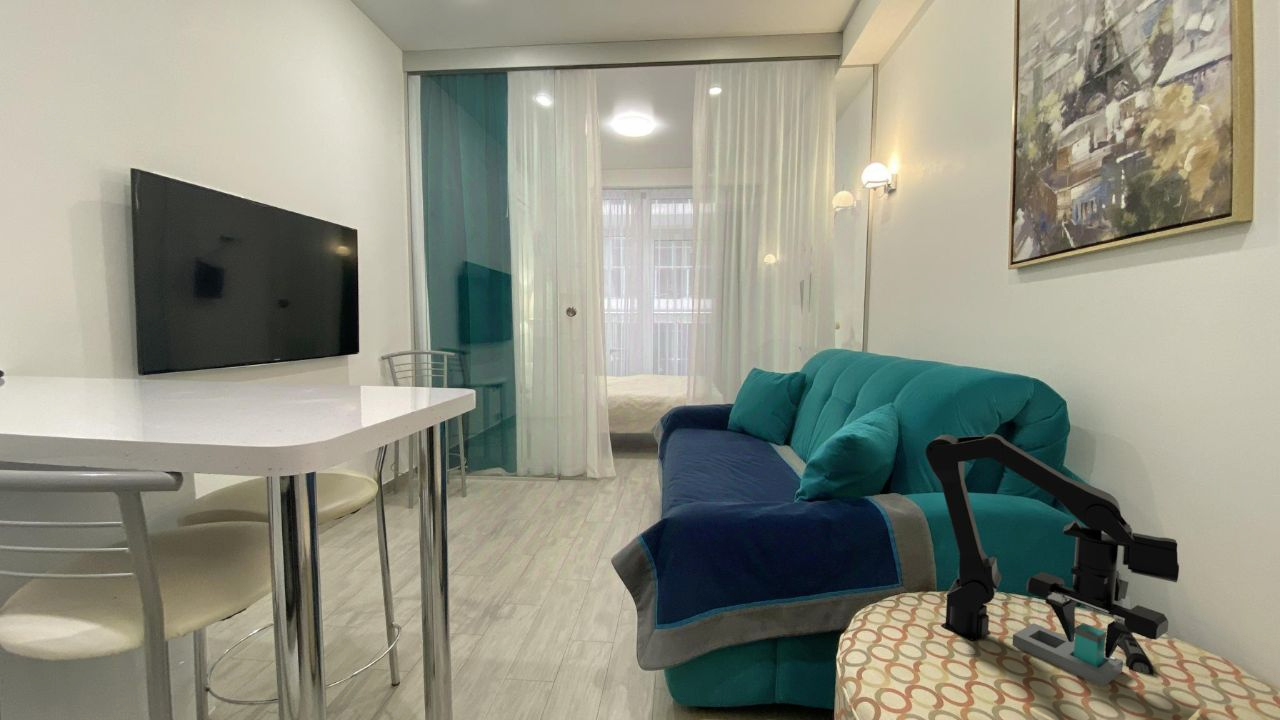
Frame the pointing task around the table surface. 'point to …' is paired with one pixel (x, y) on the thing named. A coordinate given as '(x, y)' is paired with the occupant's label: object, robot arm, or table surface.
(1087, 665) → the grey flat block
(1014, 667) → the table surface
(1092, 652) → the plug
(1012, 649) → the table surface
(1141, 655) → the electric trimmer
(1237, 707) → the table surface
